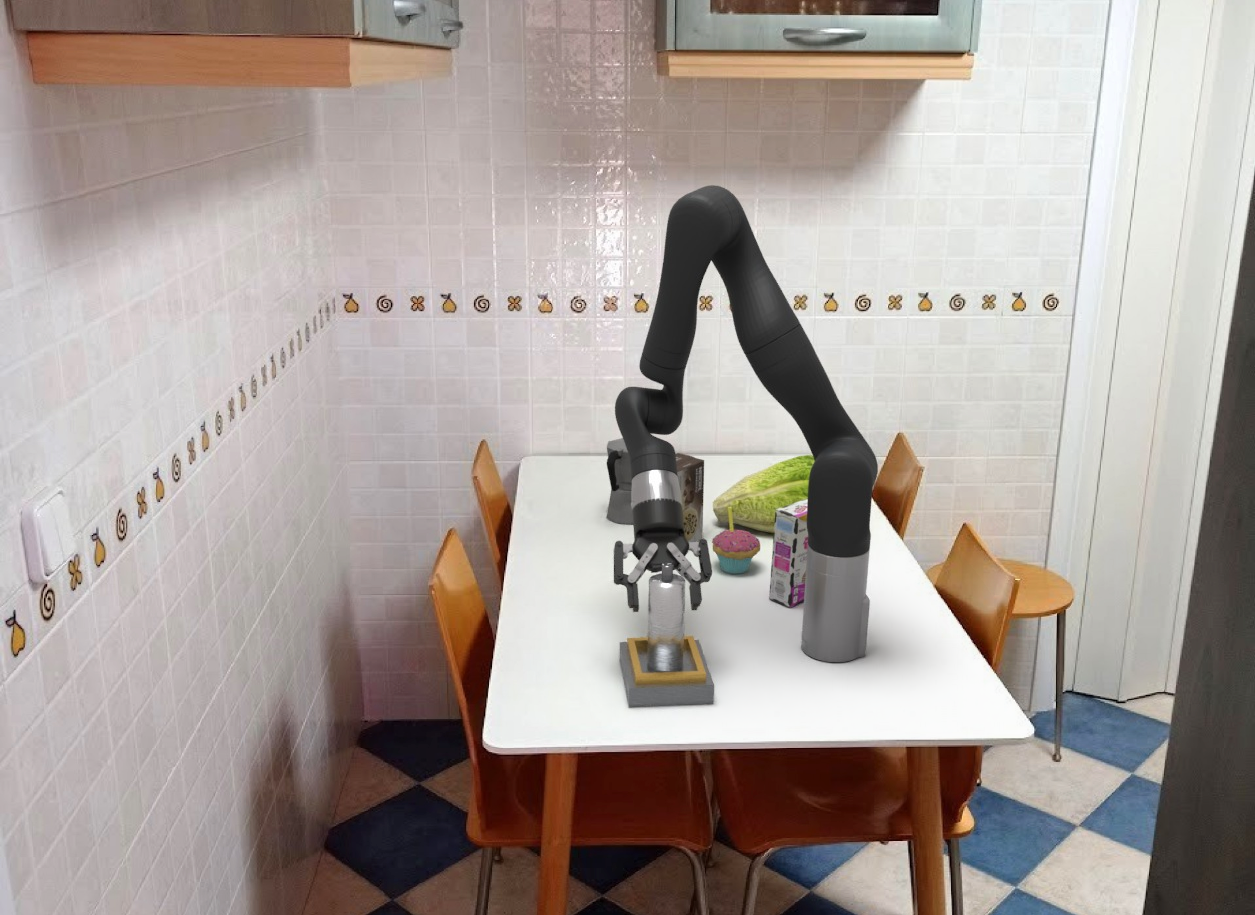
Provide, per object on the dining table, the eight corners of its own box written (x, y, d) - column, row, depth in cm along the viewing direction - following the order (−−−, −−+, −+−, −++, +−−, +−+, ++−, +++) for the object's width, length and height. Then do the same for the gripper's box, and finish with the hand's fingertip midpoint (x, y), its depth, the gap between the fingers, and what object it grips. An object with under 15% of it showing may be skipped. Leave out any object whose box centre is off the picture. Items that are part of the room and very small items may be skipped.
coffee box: (676, 531, 232) (678, 451, 227) (703, 539, 228) (706, 459, 223) (646, 545, 226) (648, 463, 220) (674, 553, 222) (676, 471, 217)
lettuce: (725, 564, 229) (730, 543, 245) (849, 528, 225) (847, 509, 240) (701, 492, 228) (708, 475, 243) (826, 454, 223) (825, 440, 238)
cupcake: (701, 568, 215) (703, 505, 212) (731, 555, 221) (733, 494, 218) (739, 582, 210) (742, 518, 206) (768, 568, 216) (772, 505, 212)
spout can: (680, 653, 178) (683, 557, 173) (685, 670, 173) (688, 571, 168) (645, 654, 177) (647, 558, 172) (649, 671, 172) (651, 573, 168)
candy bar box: (791, 609, 200) (797, 517, 195) (768, 600, 203) (773, 509, 198) (832, 590, 207) (838, 501, 202) (808, 581, 211) (814, 493, 205)
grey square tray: (697, 657, 183) (698, 632, 182) (713, 703, 170) (714, 677, 169) (619, 660, 182) (619, 635, 181) (628, 707, 169) (629, 680, 167)
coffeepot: (622, 502, 247) (623, 418, 241) (664, 510, 243) (666, 425, 237) (586, 527, 234) (586, 438, 228) (630, 535, 230) (631, 445, 224)
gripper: (611, 497, 176) (618, 602, 169) (707, 495, 178) (718, 599, 171) (607, 518, 183) (614, 619, 176) (700, 515, 184) (710, 616, 177)
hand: (665, 609), depth 173 cm, fingers open, 8 cm apart
